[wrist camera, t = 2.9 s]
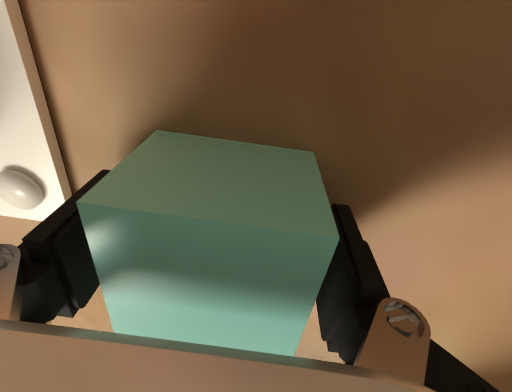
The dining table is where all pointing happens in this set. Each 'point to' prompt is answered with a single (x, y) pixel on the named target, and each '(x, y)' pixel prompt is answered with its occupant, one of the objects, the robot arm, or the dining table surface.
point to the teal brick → (211, 241)
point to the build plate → (26, 129)
